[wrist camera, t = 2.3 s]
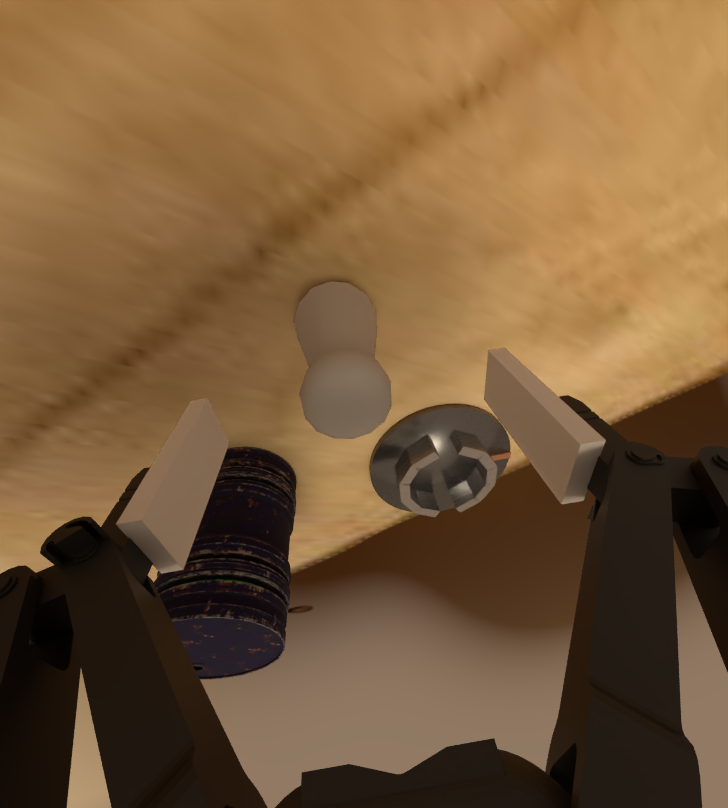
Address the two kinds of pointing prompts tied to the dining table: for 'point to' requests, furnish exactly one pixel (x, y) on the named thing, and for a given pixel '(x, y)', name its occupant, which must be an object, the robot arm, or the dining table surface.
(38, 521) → the dining table surface
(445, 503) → the socket
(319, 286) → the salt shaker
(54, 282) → the dining table surface
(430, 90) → the dining table surface
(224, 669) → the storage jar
